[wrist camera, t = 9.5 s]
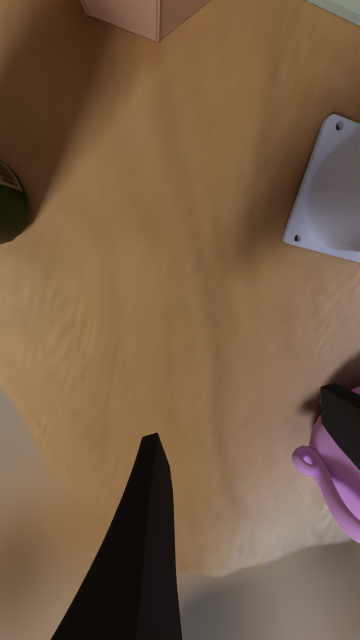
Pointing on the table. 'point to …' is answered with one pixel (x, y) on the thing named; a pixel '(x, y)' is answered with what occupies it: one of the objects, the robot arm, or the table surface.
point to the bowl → (143, 14)
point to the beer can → (11, 204)
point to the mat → (341, 8)
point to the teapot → (332, 476)
